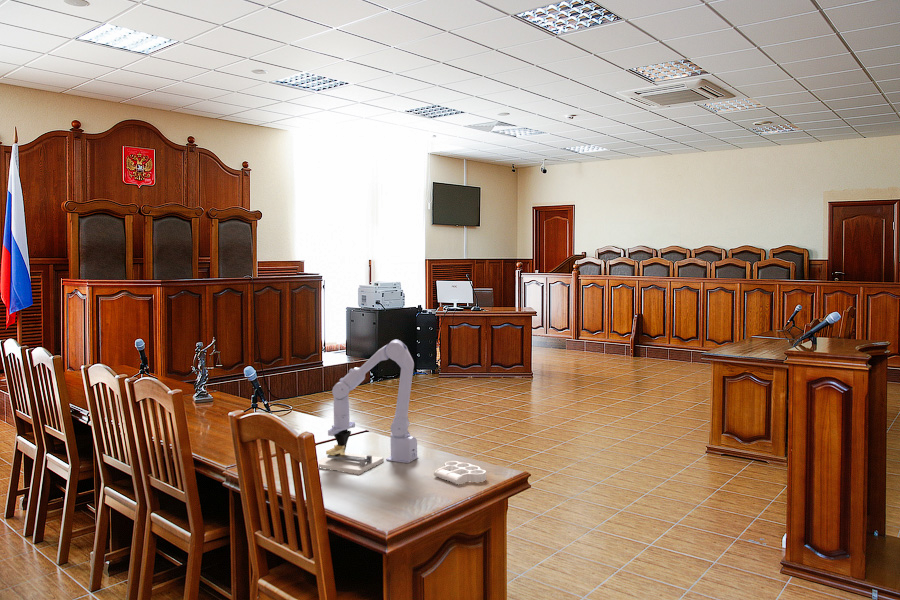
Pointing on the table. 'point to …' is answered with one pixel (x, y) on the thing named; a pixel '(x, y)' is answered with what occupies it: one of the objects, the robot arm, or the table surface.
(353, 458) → the dark grey flat bar
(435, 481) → the table surface
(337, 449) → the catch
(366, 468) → the board
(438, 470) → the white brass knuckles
